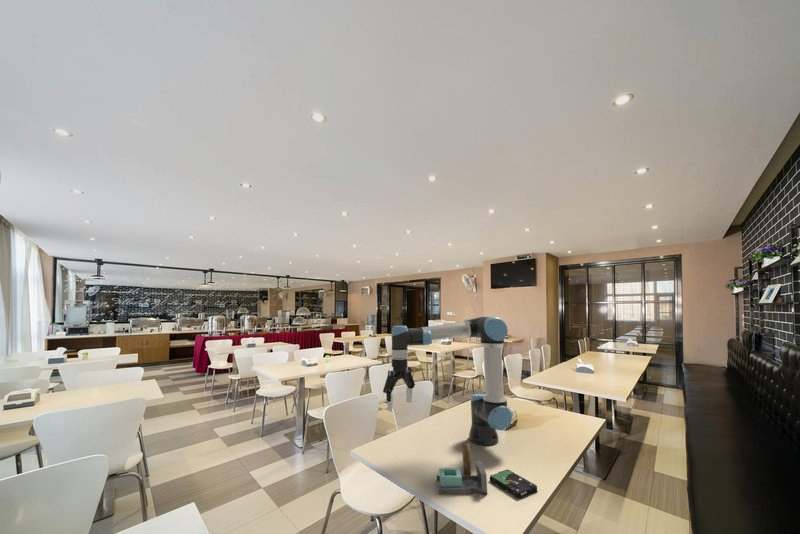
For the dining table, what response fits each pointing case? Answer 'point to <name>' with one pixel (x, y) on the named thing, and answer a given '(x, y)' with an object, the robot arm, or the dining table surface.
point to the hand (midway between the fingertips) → (399, 405)
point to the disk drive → (513, 484)
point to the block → (450, 477)
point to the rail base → (468, 483)
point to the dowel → (466, 459)
